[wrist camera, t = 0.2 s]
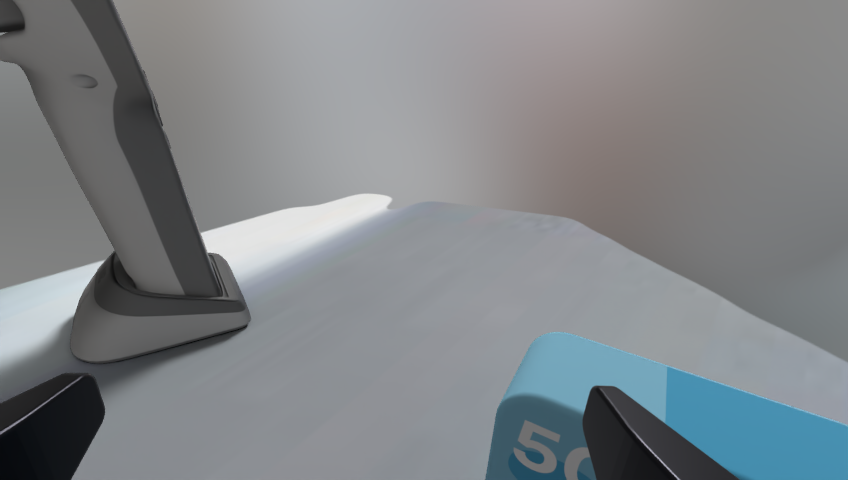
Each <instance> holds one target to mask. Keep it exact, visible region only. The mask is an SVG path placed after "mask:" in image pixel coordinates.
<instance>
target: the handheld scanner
mask: <svg viewBox="0 0 848 480" xmlns="http://www.w3.org/2000/svg"><path fill="white" fill-rule="evenodd" d="M1 32H8V33H5V34H3V35H1V36H0V60H1V61H4V62H10V63H15V64H17V65H19V66H20V67H21V68H22V70H24V72H25V74H26V76H27V78H28V80H29V82H30V85H31V87H32V90H33V93H34V95H35V98H36V101H37V103H38V105H39V107H40V109H41V111H42V113H43V115H44V117H45V118H46V120H47V122H48V124H49V126H50V128H51V130H52V132H53V134H54V136H55V138H56V140H57V142H58V144H59V146H60V148H61V150H62V152H63V154H64V156H65V158H66V160H67V162H68V164H69V166H70V168H71V170H72V172H73V174H74V175H75V177H76V179H77V181H78V183H79V185H80V187H81V189H82V190H83V192H84V194H85V196H86V198H87V199H88V201H89V203H90V205H91V207H92V208H93V210H94V212H95V214H96V216H97V217H98V219H99V221H100V223H101V225H102V227H103V229H104V231H105V232H106V234H107V236H108V238H109V240H110V242H111V244H112V246H113V247H114V249H115V251H113V253H112V254H111V255H110V256H109V257H108V258H107V259H106V260H105V261H104V263H103V264H102V265H101V266H100V267H99V269H98V270H97V272H96V273H95V275H94V276H93V277H92V279H91V281H90V282H89V284H88V285H87V287H86V288H85V290H84V292H83V294H82V296H81V298H80V300H79V303H78V306H77V309H76V312H75V316H74V322H73V327H72V333H71V339H70V349H71V351H72V353H73V354H74V355H75V356H76V357H77V358H78V359H80V360H82V361H84V362H88V363H99V364H100V363H110V362H115V361H121V360H125V359H129V358H133V357H137V356H141V355H145V354H148V353H152V352H156V351H160V350H163V349H167V348H171V347H174V346H178V345H182V344H185V343H189V342H193V341H196V340H200V339H204V338H207V337H211V336H215V335H219V334H222V333H226V332H230V331H233V330H237V329H240V328H243V327H245V326H246V325H247V324H248V323H249V322H250V320H251V316H250V313H249V310H248V307H247V304H246V302H245V300H244V297H243V295H242V293H241V290H240V288H239V286H238V284H237V281H236V279H235V277H234V275H233V272H232V270H231V268H230V267H229V265H228V263H227V261H226V260H225V259H224V258H223V257H222V256H220V255H219V254H214V253H207V250H206V247H205V244H204V242H203V239H202V236H201V233H200V231H199V228H198V225H197V222H196V219H195V216H194V214H193V211H192V208H191V205H190V202H189V200H188V197H187V194H186V191H185V188H184V186H183V183H182V180H181V177H180V175H179V171H178V169H177V166H176V163H175V160H174V157H173V155H172V152H171V147H170V143H169V140H168V138H167V135H166V133H165V131H164V130H163V128H162V126H163V124H162V121H161V118H160V114H159V110H158V105H157V102H156V99H155V97H154V94H153V92H152V90H151V88H150V86H149V83H148V80H147V77H146V75H145V72H144V70H143V69H142V67H141V65H140V62H139V60H138V58H137V56H136V53H135V51H134V49H133V46H132V44H131V42H130V39H129V37H128V35H127V32H126V30H125V28H124V25H123V23H122V21H121V19H120V16H119V14H118V12H117V9H116V7H115V5H114V2H113V0H0V33H1Z"/></svg>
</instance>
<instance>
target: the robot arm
mask: <svg viewBox="0 0 848 480" xmlns="http://www.w3.org/2000/svg"><path fill="white" fill-rule="evenodd" d="M104 415H105V406H104V403H103V400H102V397H101V394H100V391H99V388H98V385H97V382H96V379H95V377H93V376H92V375H91V374H88V373H65V374H61V375H59V376H57V377H55V378H53V379H51V380H49V381H47V382H45V383H42V384H40V385H38V386H36V387H34V388H32V389H30V390H28V391H26V392H24V393H22V394H19V395H17V396H15V397H13V398H11V399H9V400H7V401H5V402H3V403H1V404H0V480H71V479H72V477H73V475H74V473H75V471H76V470H77V468H78V466H79V464H80V462H81V460H82V459H83V457H84V455H85V453H86V451H87V450H88V448H89V446H90V444H91V442H92V440H93V439H94V437H95V435H96V433H97V431H98V429H99V428H100V426H101V424H102V422H103V419H104ZM582 427H583V432H584V436H585V440H586V443H587V447H588V451H589V454H590V458H591V462H592V465H593V469H594V473H595V476H596V480H740V479H739V478H737V477H736V476H735V475H733V474H732V473H731V472H729V471H728V470H727V469H725V468H724V467H723V466H721V465H720V464H719V463H717V462H716V461H715V460H713V459H712V458H711V457H709V456H708V455H707V454H705V453H704V452H703V451H701V450H700V449H699V448H697V447H696V446H695V445H693V444H692V443H691V442H689V441H688V440H687V439H685V438H684V437H683V436H681V435H680V434H679V433H677V432H676V431H675V430H673V429H672V428H671V427H669V426H668V425H667V424H665V423H664V422H663V421H661V420H660V419H659V418H657V417H656V416H655V415H653V414H652V413H651V412H649V411H648V410H647V409H645V408H644V407H643V406H641V405H640V404H639V403H637V402H636V401H635V400H633V399H632V398H631V397H629V396H628V395H627V394H625V393H624V392H623V391H621V390H620V389H619V388H617V387H615V386H600V385H596V386H593V387H592V388H591V390H590V392H589V396H588V400H587V403H586V407H585V411H584V415H583V419H582Z"/></svg>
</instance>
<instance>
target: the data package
mask: <svg viewBox="0 0 848 480" xmlns="http://www.w3.org/2000/svg"><path fill="white" fill-rule="evenodd" d="M596 385H600V386H615V387H617V388H619V389H620V390H621V391H623V392H624V393H625V394H627V395H628V396H629V397H631V398H632V399H633V400H635V401H636V402H637V403H639V404H640V405H641V406H643V407H644V408H645V409H647V410H648V411H649V412H651V413H652V414H653V415H655V416H656V417H657V418H659V419H660V420H661V421H663V422H664V423H665V424H667V425H668V426H669V427H671V428H672V429H673V430H675V431H676V432H677V433H679V434H680V435H681V436H683V437H684V438H685V439H687V440H688V441H689V442H691V443H692V444H693V445H695V446H696V447H697V448H699V449H700V450H701V451H703V452H704V453H705V454H707V455H708V456H709V457H711V458H712V459H713V460H715V461H716V462H717V463H719V464H720V465H721V466H723V467H724V468H725V469H727V470H728V471H729V472H731V473H732V474H733V475H735V476H736V477H737V478H739V479H740V480H848V425H846V424H843V423H841V422H838V421H835V420H832V419H829V418H826V417H823V416H819V415H816V414H813V413H810V412H807V411H804V410H801V409H798V408H795V407H792V406H789V405H786V404H783V403H780V402H777V401H774V400H771V399H768V398H765V397H762V396H759V395H756V394H753V393H750V392H747V391H744V390H740V389H737V388H734V387H731V386H728V385H725V384H722V383H719V382H716V381H713V380H710V379H707V378H704V377H701V376H698V375H695V374H692V373H689V372H686V371H683V370H680V369H677V368H674V367H671V366H668V365H664V364H661V363H658V362H655V361H652V360H649V359H646V358H643V357H640V356H637V355H634V354H631V353H628V352H625V351H622V350H619V349H616V348H613V347H610V346H607V345H604V344H601V343H598V342H595V341H592V340H589V339H585V338H582V337H579V336H576V335H573V334H570V333H564V332H552V333H547V334H544V335H542V336H540V337H538V338H537V339H536V340H535V341H534V342H533V343H532V344H531V345H530V347H529V349H528V351H527V353H526V355H525V356H524V358H523V360H522V362H521V364H520V366H519V368H518V370H517V372H516V374H515V376H514V378H513V380H512V381H511V383H510V385H509V387H508V389H507V391H506V393H505V395H504V397H503V399H502V401H501V403H500V405H499V407H498V409H497V413H496V419H495V425H494V431H493V437H492V443H491V449H490V455H489V461H488V467H487V473H486V479H485V480H596V476H595V473H594V469H593V465H592V462H591V458H590V454H589V451H588V447H587V443H586V440H585V436H584V432H583V427H582V419H583V415H584V411H585V407H586V403H587V400H588V396H589V392H590V390H591V388H592V387H593V386H596Z"/></svg>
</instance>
